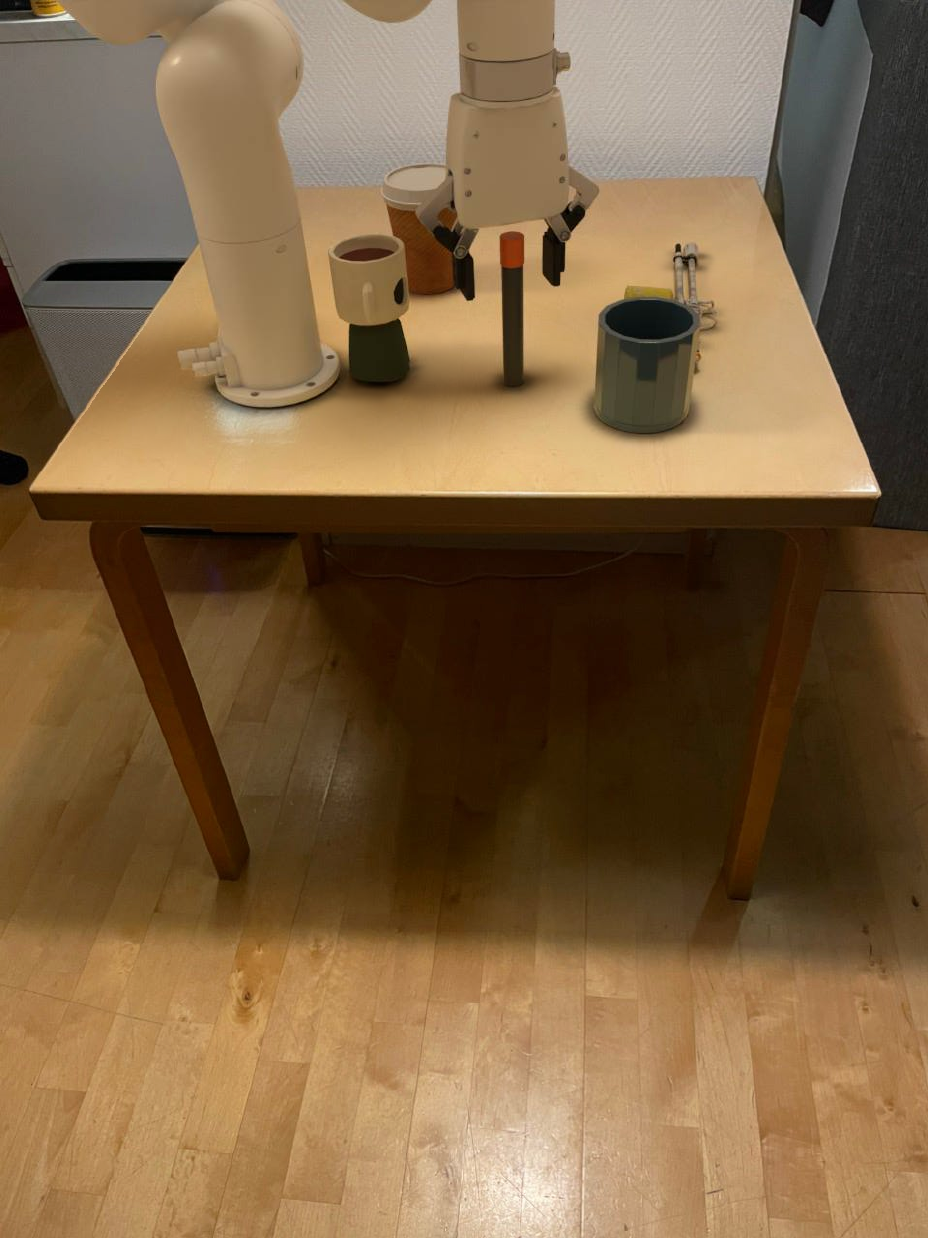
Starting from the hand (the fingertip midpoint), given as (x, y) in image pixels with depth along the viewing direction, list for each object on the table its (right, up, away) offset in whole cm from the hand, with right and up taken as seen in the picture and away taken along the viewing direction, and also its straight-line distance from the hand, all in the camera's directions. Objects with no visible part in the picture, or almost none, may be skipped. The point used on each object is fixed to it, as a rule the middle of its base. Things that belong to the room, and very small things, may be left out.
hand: (509, 286), depth 90 cm
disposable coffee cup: (-8, +9, +24) cm, 27 cm away
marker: (+1, -7, +7) cm, 10 cm away
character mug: (-13, -6, +9) cm, 17 cm away
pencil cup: (+13, -11, +2) cm, 17 cm away
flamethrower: (+18, +3, +17) cm, 25 cm away
